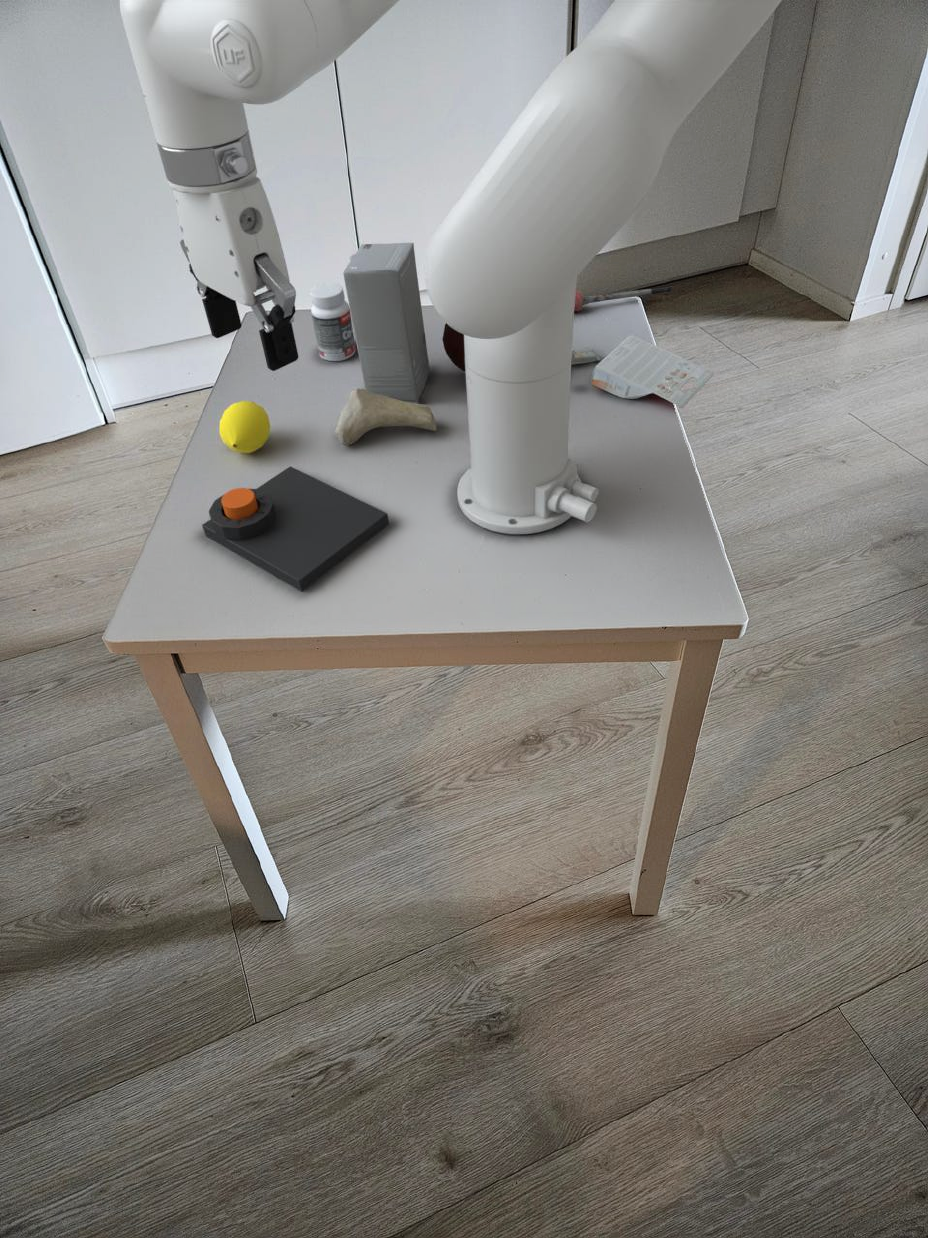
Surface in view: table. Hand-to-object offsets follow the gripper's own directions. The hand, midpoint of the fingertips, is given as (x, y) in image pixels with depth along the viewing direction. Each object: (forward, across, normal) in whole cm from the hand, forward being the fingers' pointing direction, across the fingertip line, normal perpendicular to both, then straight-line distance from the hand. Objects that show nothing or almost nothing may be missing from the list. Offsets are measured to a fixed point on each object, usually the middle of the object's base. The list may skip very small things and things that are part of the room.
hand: (254, 348), depth 85 cm
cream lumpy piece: (+14, -4, -12) cm, 19 cm away
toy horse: (+14, -11, -36) cm, 40 cm away
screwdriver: (+12, -2, -48) cm, 50 cm away
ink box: (+12, -14, -38) cm, 42 cm away
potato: (+14, -4, -29) cm, 32 cm away
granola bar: (+13, -8, -38) cm, 41 cm away
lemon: (+14, +6, +1) cm, 15 cm away
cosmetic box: (+14, +3, -19) cm, 24 cm away
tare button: (+11, -7, +9) cm, 16 cm away
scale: (+14, -10, +6) cm, 18 cm away
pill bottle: (+14, +15, -19) cm, 28 cm away
